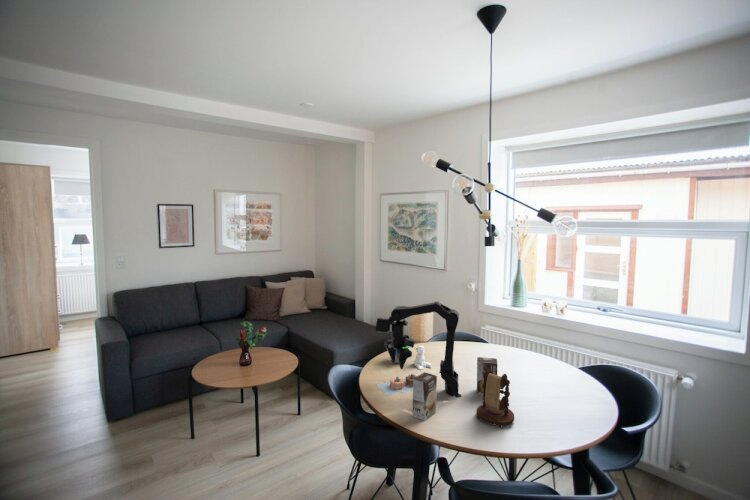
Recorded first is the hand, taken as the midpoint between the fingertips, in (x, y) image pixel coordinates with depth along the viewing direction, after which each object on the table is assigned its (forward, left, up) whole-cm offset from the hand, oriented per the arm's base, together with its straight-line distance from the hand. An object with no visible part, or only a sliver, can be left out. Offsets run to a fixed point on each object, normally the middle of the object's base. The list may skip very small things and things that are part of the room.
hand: (397, 365), depth 176 cm
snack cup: (+29, -15, -12) cm, 35 cm away
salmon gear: (0, 0, -11) cm, 11 cm away
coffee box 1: (-25, -1, -12) cm, 28 cm away
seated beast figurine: (+18, -23, -12) cm, 31 cm away
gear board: (0, -3, -12) cm, 12 cm away
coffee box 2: (-20, -37, -12) cm, 43 cm away
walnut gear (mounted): (0, -8, -11) cm, 13 cm away
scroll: (-39, -26, -12) cm, 48 cm away
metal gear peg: (0, 0, -11) cm, 11 cm away
